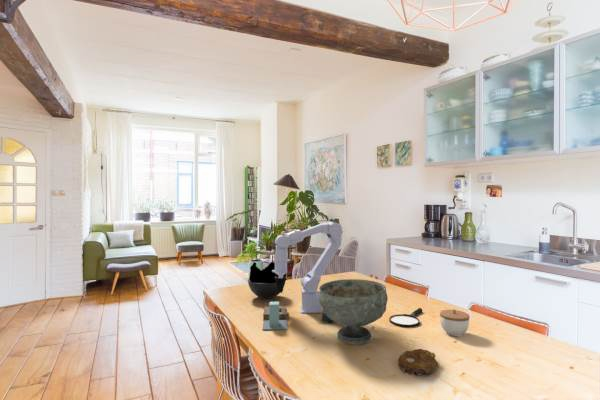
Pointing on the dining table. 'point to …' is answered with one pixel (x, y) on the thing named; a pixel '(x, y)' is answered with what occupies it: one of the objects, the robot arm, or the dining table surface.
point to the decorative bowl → (353, 306)
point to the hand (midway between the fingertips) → (280, 290)
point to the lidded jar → (454, 322)
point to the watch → (326, 318)
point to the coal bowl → (263, 281)
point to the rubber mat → (281, 326)
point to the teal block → (274, 314)
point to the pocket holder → (281, 313)
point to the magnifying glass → (406, 319)
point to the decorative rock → (418, 362)
